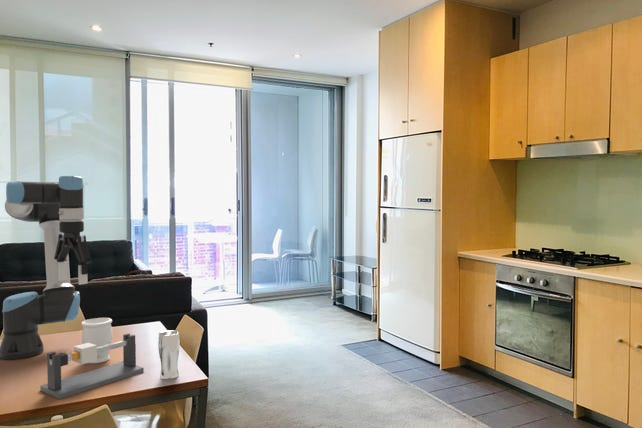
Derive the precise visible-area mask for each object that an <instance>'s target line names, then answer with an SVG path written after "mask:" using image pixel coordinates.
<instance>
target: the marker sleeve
mask: <svg viewBox="0 0 642 428" xmlns="http://www.w3.org/2000/svg"><path fill="white" fill-rule="evenodd" d="M75 351H77V352H80V359H79V360H75V361H73V362H74V363H77V364H80V365H85V364H90V363H89V362H93V361H96V360H97V345H95V344H91V343H85V344H82V343H81V344H78V345H74V346H73V352H75Z"/></svg>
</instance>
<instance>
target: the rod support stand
mask: <svg viewBox="0 0 642 428" xmlns="http://www.w3.org/2000/svg"><path fill="white" fill-rule="evenodd" d="M127 339H128V345H126V346H123V347H122V348H123V349H122V351H123V353H122V355H123V358H122V359H123V361H120V362H116V363H113V364H109V365H107V366H102V367H100V368H96V369H92V370H89V371H86V372H83V373H80V374H76V375H75V374H74V375H72V376H69V377H66V378H62V366H61V354H59V353H56V351H52V352H48V353H46V354H47V355H46V356H47V361H46V362H47V363H46V365H47V366H46V367H47V369H46V370H47V383H45V384H42V385H40V386H39V389H40V390H39V391H41V392H43V393H45V394H47V395H49V396H51V397H53V398H56V399H58V400H62V399H65V398H67V397H72V396H74V395H77V394H81V393H83V392H86V391H90V390H93V389H97V388H98V387H103V386H105V385H108V384H110V383H114V382H118V381H121V380H123V379H126V378H130V377H133V376H136V375H139V374H142V373H144V368H145V367H143V366H140V365H137V361H136V360H137V357H136V356H137V352H136V349H137V348H136V344H137V343H136V334H131V333H124V334H123V337H122V341H123V340H127ZM49 359H52V365H50V363H49Z"/></svg>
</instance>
